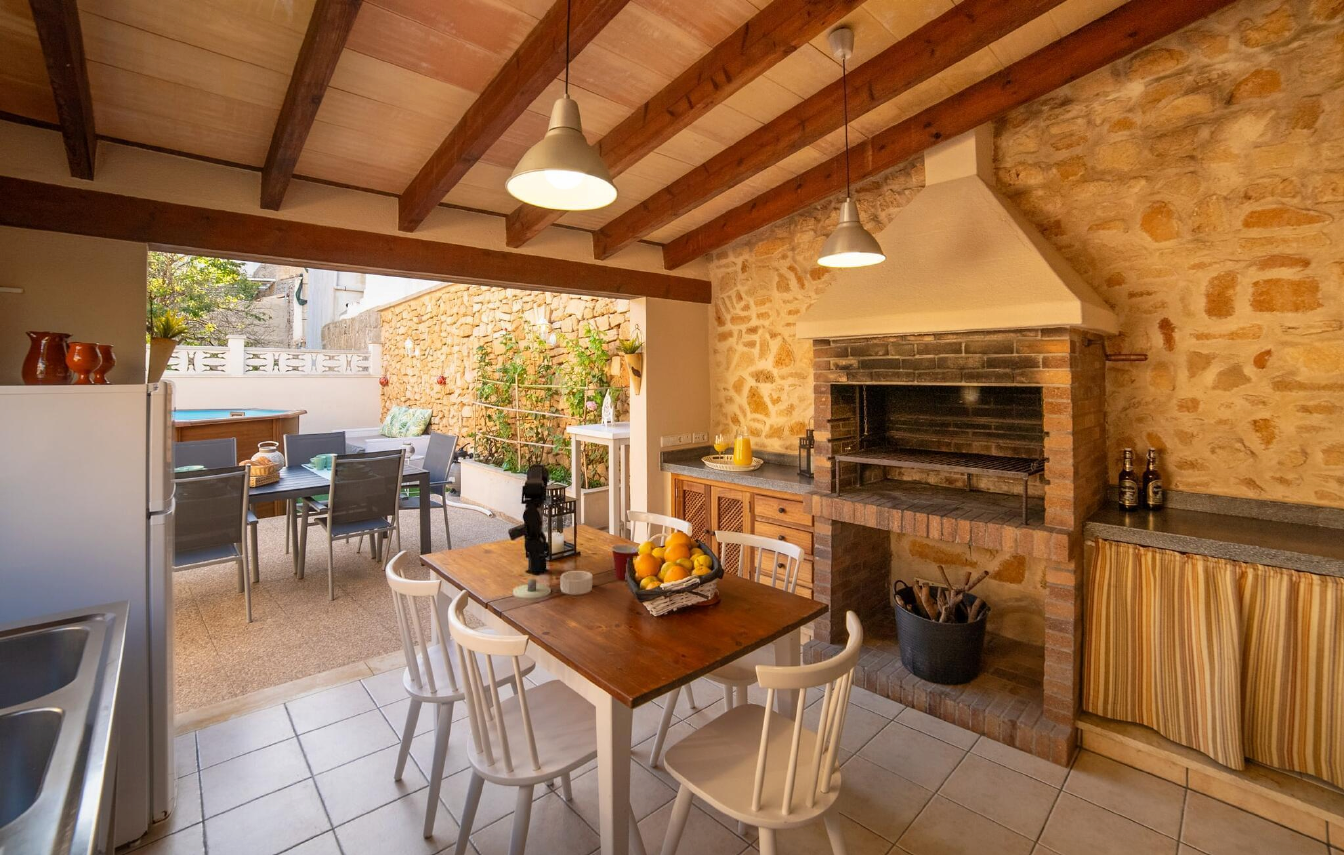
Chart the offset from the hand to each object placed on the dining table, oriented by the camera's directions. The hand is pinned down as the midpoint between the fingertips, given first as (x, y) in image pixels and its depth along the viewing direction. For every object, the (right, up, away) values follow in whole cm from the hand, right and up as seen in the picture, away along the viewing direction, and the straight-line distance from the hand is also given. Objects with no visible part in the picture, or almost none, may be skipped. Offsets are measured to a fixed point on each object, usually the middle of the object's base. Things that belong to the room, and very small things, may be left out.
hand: (533, 561), depth 209 cm
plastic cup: (+31, -11, +18) cm, 37 cm away
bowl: (+14, -11, +5) cm, 19 cm away
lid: (-1, -11, +1) cm, 11 cm away
